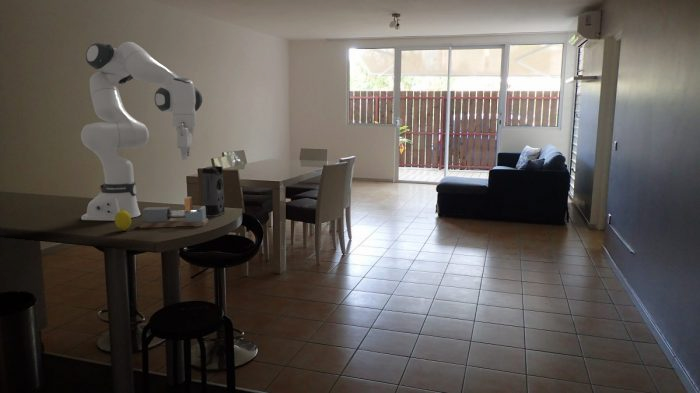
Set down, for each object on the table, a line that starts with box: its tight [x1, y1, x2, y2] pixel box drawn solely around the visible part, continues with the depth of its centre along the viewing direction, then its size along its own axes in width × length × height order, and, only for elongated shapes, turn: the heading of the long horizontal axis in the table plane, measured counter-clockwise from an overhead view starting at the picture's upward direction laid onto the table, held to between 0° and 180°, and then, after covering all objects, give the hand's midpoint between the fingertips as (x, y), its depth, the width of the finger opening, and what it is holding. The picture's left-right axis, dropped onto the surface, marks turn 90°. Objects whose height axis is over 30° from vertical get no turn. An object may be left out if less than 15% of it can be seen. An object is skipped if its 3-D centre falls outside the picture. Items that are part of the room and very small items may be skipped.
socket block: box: [185, 205, 207, 222], centre depth 207 cm, size 6×6×5 cm
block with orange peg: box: [167, 196, 198, 219], centre depth 206 cm, size 14×4×8 cm, turn 94°
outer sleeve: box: [141, 206, 172, 223], centre depth 206 cm, size 9×5×5 cm, turn 93°
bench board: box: [138, 217, 209, 228], centre depth 207 cm, size 24×8×2 cm, turn 94°
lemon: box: [114, 210, 132, 232], centre depth 196 cm, size 6×6×8 cm
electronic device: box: [201, 165, 226, 218], centre depth 224 cm, size 9×6×20 cm, turn 168°
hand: (185, 157), depth 206 cm, fingers open, 8 cm apart
